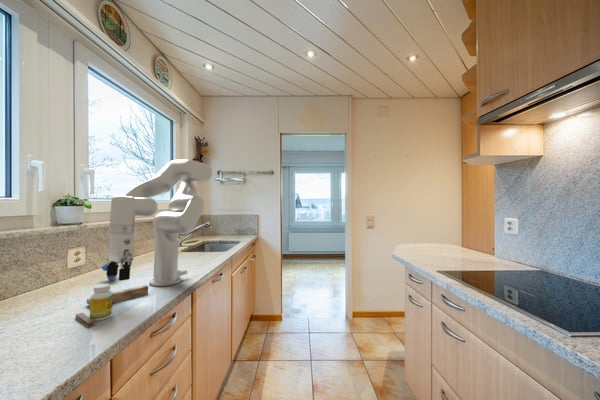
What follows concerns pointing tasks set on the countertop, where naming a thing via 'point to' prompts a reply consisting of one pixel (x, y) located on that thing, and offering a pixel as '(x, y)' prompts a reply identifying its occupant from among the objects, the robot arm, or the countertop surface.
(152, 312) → the countertop surface
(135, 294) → the turner
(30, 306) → the countertop surface
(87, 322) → the stop strip
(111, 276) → the grapes
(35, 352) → the countertop surface
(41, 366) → the countertop surface
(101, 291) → the supplement bottle
